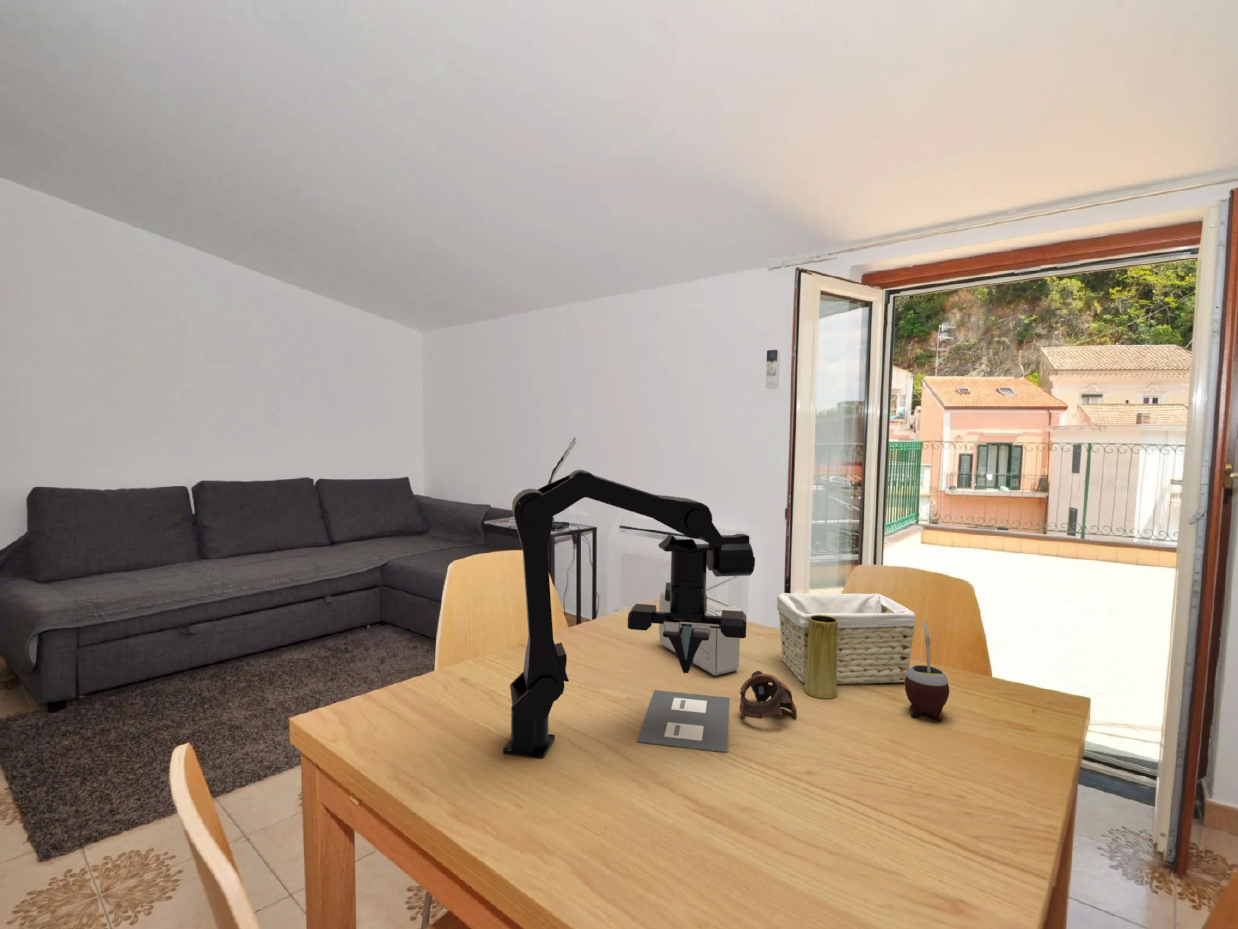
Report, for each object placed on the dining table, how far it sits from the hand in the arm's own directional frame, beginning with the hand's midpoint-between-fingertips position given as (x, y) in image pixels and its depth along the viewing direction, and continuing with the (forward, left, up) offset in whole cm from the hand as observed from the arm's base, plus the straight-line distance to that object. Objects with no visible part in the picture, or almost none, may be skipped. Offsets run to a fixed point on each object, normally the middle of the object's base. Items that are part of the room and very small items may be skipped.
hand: (685, 672), depth 101 cm
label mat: (+5, 0, -10) cm, 11 cm away
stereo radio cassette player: (+34, 0, -10) cm, 36 cm away
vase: (+22, -24, -10) cm, 34 cm away
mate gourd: (+17, -41, -10) cm, 46 cm away
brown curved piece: (+10, -13, -10) cm, 20 cm away
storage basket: (+34, -29, -10) cm, 46 cm away
